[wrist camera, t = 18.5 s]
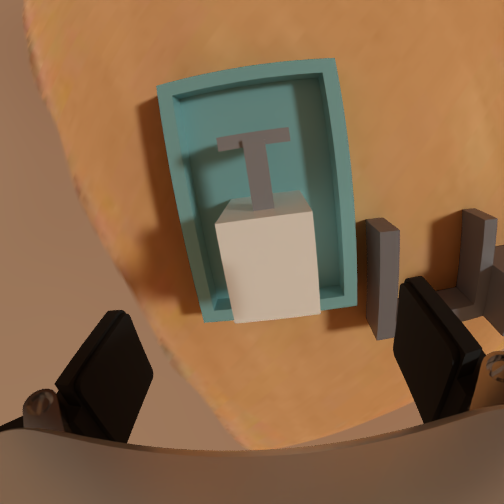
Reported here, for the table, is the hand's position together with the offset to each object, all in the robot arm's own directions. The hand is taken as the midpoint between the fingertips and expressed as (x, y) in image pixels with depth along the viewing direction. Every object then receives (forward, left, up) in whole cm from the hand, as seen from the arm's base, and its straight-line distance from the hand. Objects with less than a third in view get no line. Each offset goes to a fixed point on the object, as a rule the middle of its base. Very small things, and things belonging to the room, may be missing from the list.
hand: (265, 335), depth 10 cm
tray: (-2, 0, -14) cm, 15 cm away
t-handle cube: (-1, 0, -14) cm, 14 cm away
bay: (+5, +17, -14) cm, 23 cm away
